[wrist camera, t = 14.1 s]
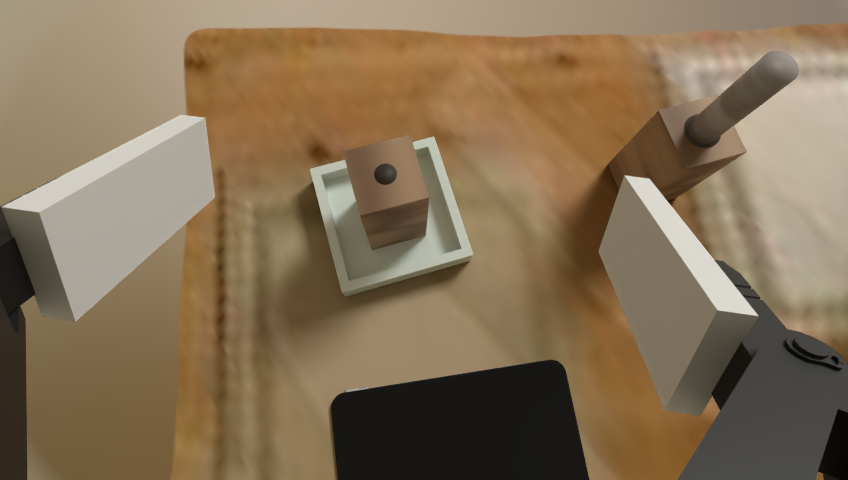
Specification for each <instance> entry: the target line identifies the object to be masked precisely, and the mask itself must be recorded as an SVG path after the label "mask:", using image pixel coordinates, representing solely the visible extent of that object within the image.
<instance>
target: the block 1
mask: <svg viewBox="0 0 848 480" xmlns="http://www.w3.org/2000/svg"><path fill="white" fill-rule="evenodd" d="M343 154H344V158H345V162H346V165H347V169H348V173H349V177H350V180H351V184H352V188H353V192H354V195H355V199H356V203H357V207H358V210H359V214H360V217H361V220H362V223H363V226H364V229H365V232H366V235H367V238H368V240H369V243H370V246H371V249H372V250H375V249H378V248H382V247H386V246H389V245H393V244H397V243H400V242H404V241H408V240H411V239H415V238H419V237H422V236H426V228H427V218H428V207H429V194H428V191H427V188H426V185H425V181H424V178H423V175H422V172H421V168H420V165H419V162H418V159H417V155H416V152H415V149H414V146H413V142H412V139H411V136H410V135H407V136H403V137H399V138H395V139H391V140H387V141H383V142H379V143H375V144H371V145H367V146H363V147H359V148H355V149H351V150H347V151H343Z"/></svg>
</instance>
